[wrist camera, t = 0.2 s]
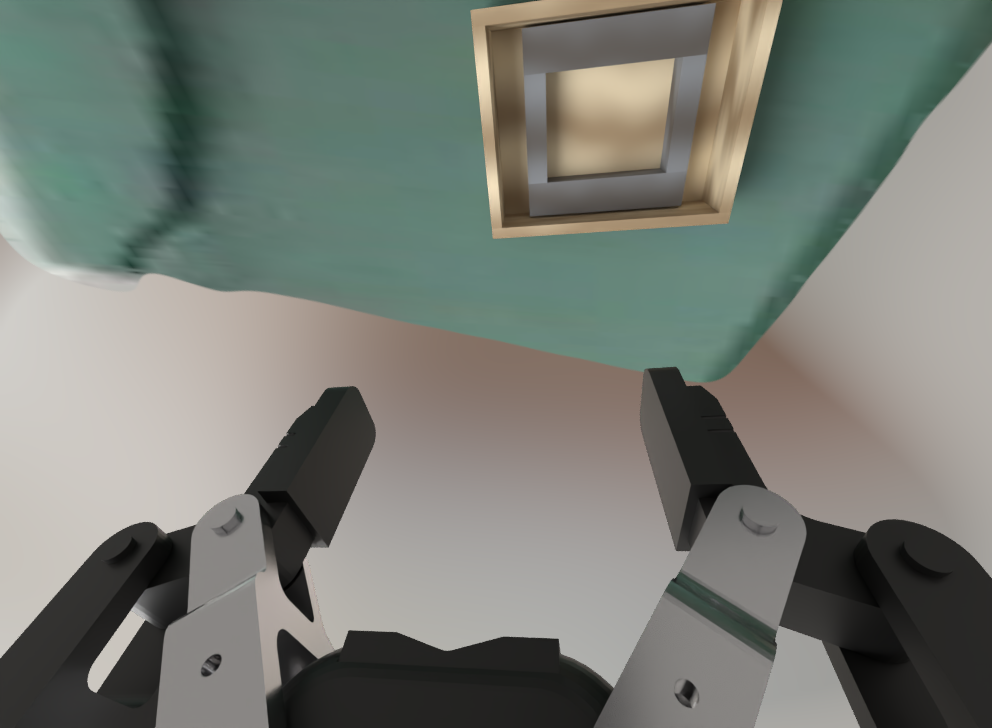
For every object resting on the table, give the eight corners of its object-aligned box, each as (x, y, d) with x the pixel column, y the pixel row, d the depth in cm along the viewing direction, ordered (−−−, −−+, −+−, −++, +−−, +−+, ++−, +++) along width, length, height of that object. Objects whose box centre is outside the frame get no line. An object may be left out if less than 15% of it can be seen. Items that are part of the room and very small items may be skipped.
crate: (480, 19, 28) (470, 10, 24) (751, -17, 26) (791, -35, 22) (497, 220, 36) (492, 238, 32) (705, 205, 34) (728, 223, 30)
